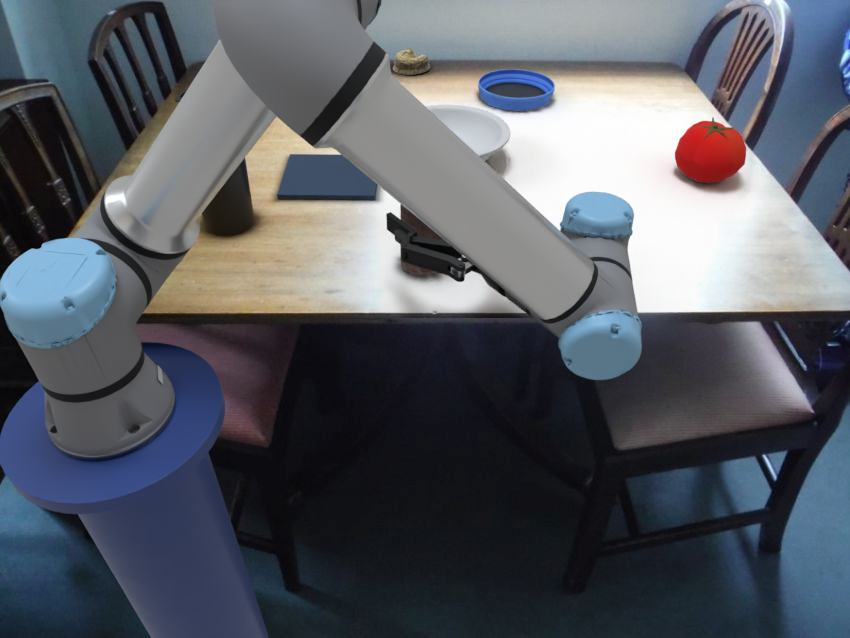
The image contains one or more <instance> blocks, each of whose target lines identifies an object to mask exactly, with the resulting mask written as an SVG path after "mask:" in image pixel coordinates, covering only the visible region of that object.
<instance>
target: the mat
mask: <svg viewBox="0 0 850 638" xmlns="http://www.w3.org/2000/svg"><path fill="white" fill-rule="evenodd" d="M280 181H281V182H280V184H279V187H278V191H277V194H276V198H277V200H319V201H321V200H323V201H324V200H325V201H326V200H327V201H329V200H331V201H333V200H335V201H341V200H342V201H376V198H377V197H376V196H377V186H378V184H376V183H375V182H374V181H373V180H372V179H370V178H369V177H368V176H367V175H366V174H364V173H363V172H362V171H361V170H360V169H358V168H357V167H356V166H355V165H353V164H352V163H351V162H350V161H349V160H347V159H346V158H345V157H344V156H343V155H341V154H329V153H328V154H324V153H323V154H321V153H320V154H318V153H317V154H315V153H312V154H311V153H309V154H308V153H307V154H305V153H303V154H302V153H290V154H289V157H288V159H287V162H286V166H285V169H284V171H283V175H282V177H281V180H280Z"/></svg>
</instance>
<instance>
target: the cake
mask: <svg viewBox="0 0 850 638" xmlns="http://www.w3.org/2000/svg"><path fill="white" fill-rule="evenodd" d="M430 69H431V64H430V59H429V56H427V55H424V54H421V55H417V54H416V53H415V50H414V49H413V48H412V47H410V48H409V49H406V48H405V49H402V50H400V51H398V52H397V53H396V54H395V56H394V58H393V66H392V71H393V72H395V73H397V74H399V75H402V76H403V75H406V76H414V75H420V74H423V73H426V72H428V71H429V70H430Z"/></svg>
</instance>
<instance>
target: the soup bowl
mask: <svg viewBox="0 0 850 638" xmlns="http://www.w3.org/2000/svg"><path fill="white" fill-rule="evenodd" d="M424 106H425V107H427V108H428V109H429V110H430V111H431V112H432V113H433V114H434V115H435V116H436V117H437V118H438V119H440V120H441V121H442V122H443V123H444V124H445V125H446V126H447V127H448V128H449V129H450V130H451V131H452V132H454V133H455V134H456V135H457V136H458V137H459V138H460V139H461V140H462V141H463V142H464V143H465V144H467V145H468V146H469V147H470V148H471V149H472V150H473V151H474V152H475V153H476V154H477V155H478V156H480V157H481V158H482V159H483V160H484V161H485V162H486V161H487V160H488V159H490V158H491V157H492V156H493V155H495V153H496V152H498V151H499V150H501V149H502V148H504V147H505V146H506V145H507V144H508V142H509V141H510V137H511V128H510V126H509V125H508V123H507V122H506V121H505V120H504V119H503V118H501V117H500V116H498V115H497V114H495V113H493V112H490V111H488V110H484V109H481V108H478V107H475V106H474V107H473V106H468V105H460V104H433V105H424Z"/></svg>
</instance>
